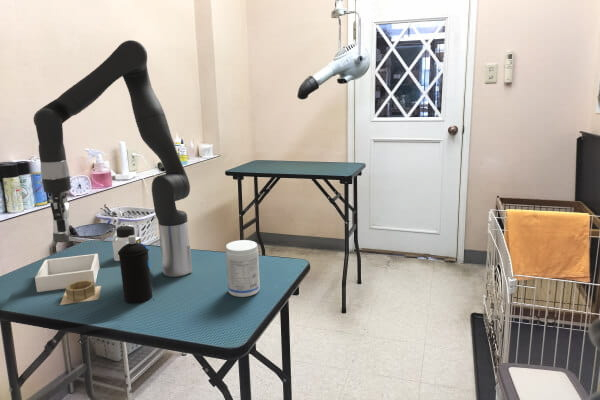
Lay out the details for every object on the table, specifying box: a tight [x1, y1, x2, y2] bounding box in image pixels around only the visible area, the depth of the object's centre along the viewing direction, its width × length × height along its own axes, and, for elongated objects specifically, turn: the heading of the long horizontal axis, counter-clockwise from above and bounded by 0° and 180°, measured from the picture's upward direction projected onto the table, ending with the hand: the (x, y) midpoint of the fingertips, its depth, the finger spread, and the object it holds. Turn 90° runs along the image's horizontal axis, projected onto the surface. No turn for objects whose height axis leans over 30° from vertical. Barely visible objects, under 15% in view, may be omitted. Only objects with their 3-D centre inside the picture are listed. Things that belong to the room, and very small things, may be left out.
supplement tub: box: [225, 239, 261, 298], centre depth 142 cm, size 10×10×15 cm
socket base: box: [59, 280, 102, 306], centre depth 140 cm, size 10×10×4 cm
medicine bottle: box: [111, 224, 142, 262], centre depth 172 cm, size 7×7×12 cm
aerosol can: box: [118, 234, 155, 305], centre depth 135 cm, size 8×8×20 cm
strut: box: [52, 199, 70, 243], centre depth 148 cm, size 5×5×14 cm
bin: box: [34, 253, 101, 293], centre depth 152 cm, size 16×16×6 cm
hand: (63, 229), depth 149 cm, fingers closed on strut, 4 cm apart
